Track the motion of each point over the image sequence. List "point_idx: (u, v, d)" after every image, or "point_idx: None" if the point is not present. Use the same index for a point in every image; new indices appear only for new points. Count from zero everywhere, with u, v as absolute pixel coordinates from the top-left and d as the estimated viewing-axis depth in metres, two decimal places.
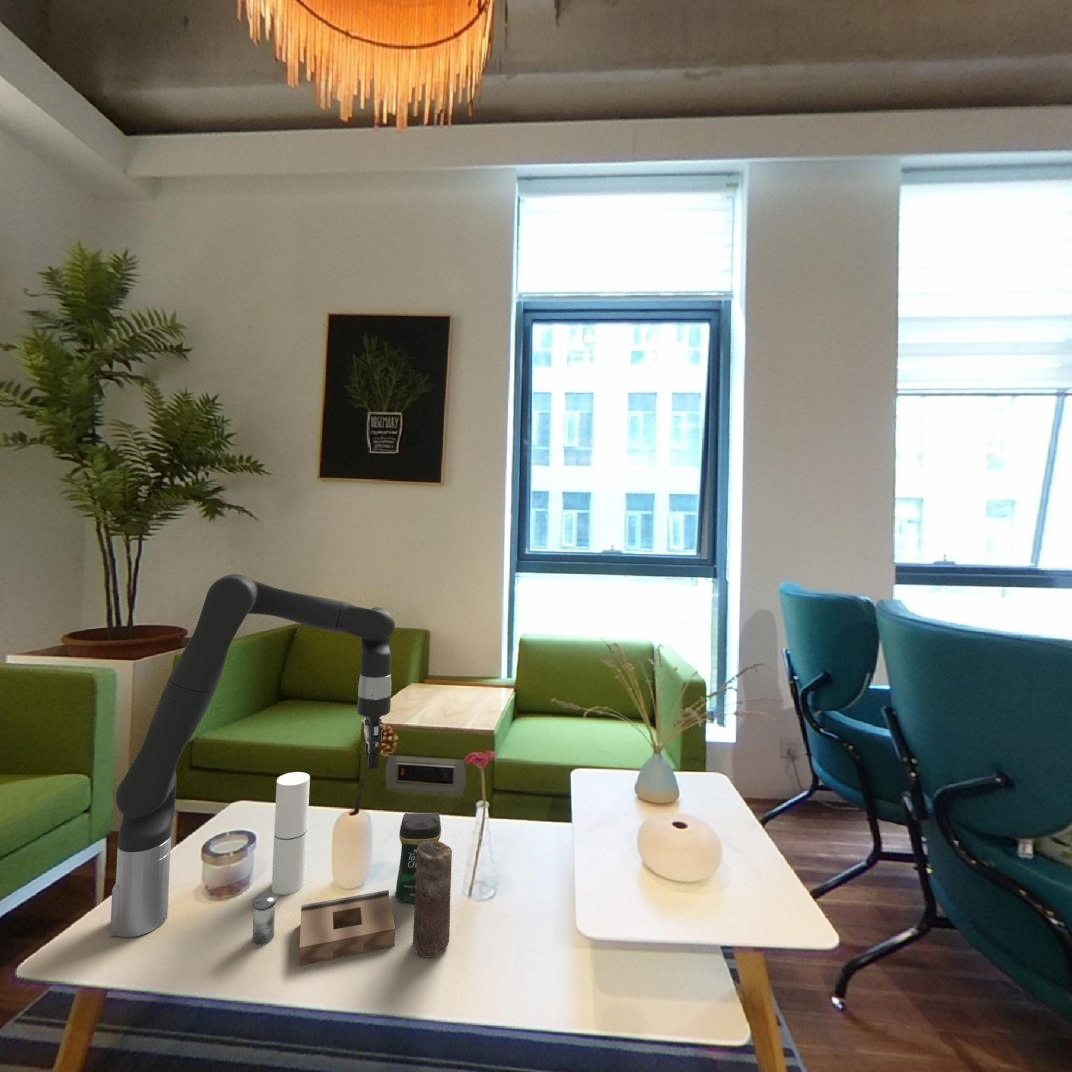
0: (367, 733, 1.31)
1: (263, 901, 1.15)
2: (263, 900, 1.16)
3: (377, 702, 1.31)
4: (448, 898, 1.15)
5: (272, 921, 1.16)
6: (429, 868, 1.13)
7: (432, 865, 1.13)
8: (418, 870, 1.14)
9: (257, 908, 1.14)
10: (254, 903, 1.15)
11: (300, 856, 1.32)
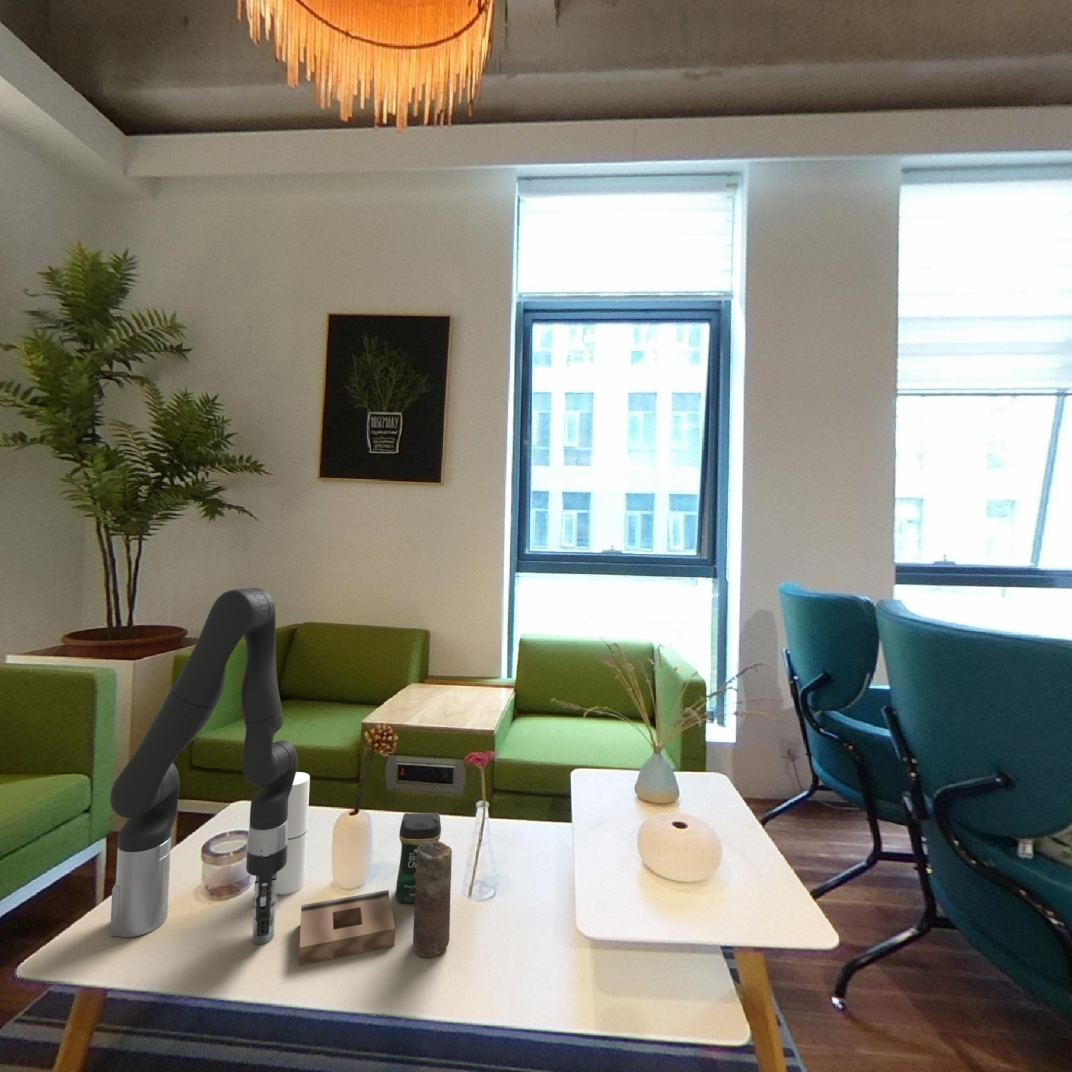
0: (256, 895, 1.13)
1: None
2: None
3: (267, 858, 1.13)
4: (448, 898, 1.15)
5: (272, 921, 1.16)
6: (429, 868, 1.13)
7: (432, 865, 1.13)
8: (418, 870, 1.14)
9: None
10: (254, 903, 1.15)
11: (300, 856, 1.32)
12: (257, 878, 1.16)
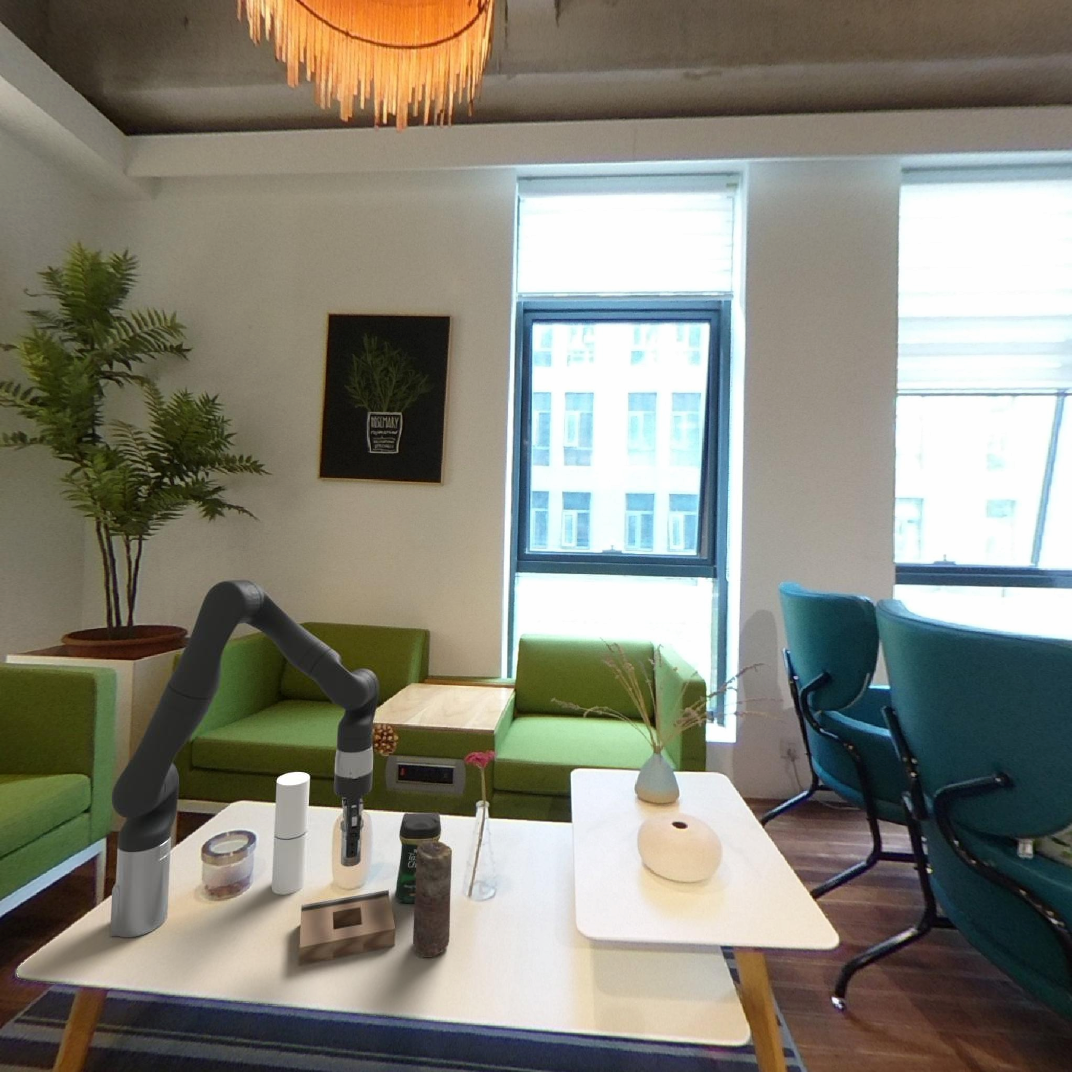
0: (345, 817, 1.15)
1: None
2: None
3: (356, 781, 1.15)
4: (448, 898, 1.15)
5: (360, 844, 1.18)
6: (429, 868, 1.13)
7: (432, 865, 1.13)
8: (418, 870, 1.14)
9: None
10: (343, 826, 1.16)
11: (300, 856, 1.32)
12: (344, 802, 1.18)
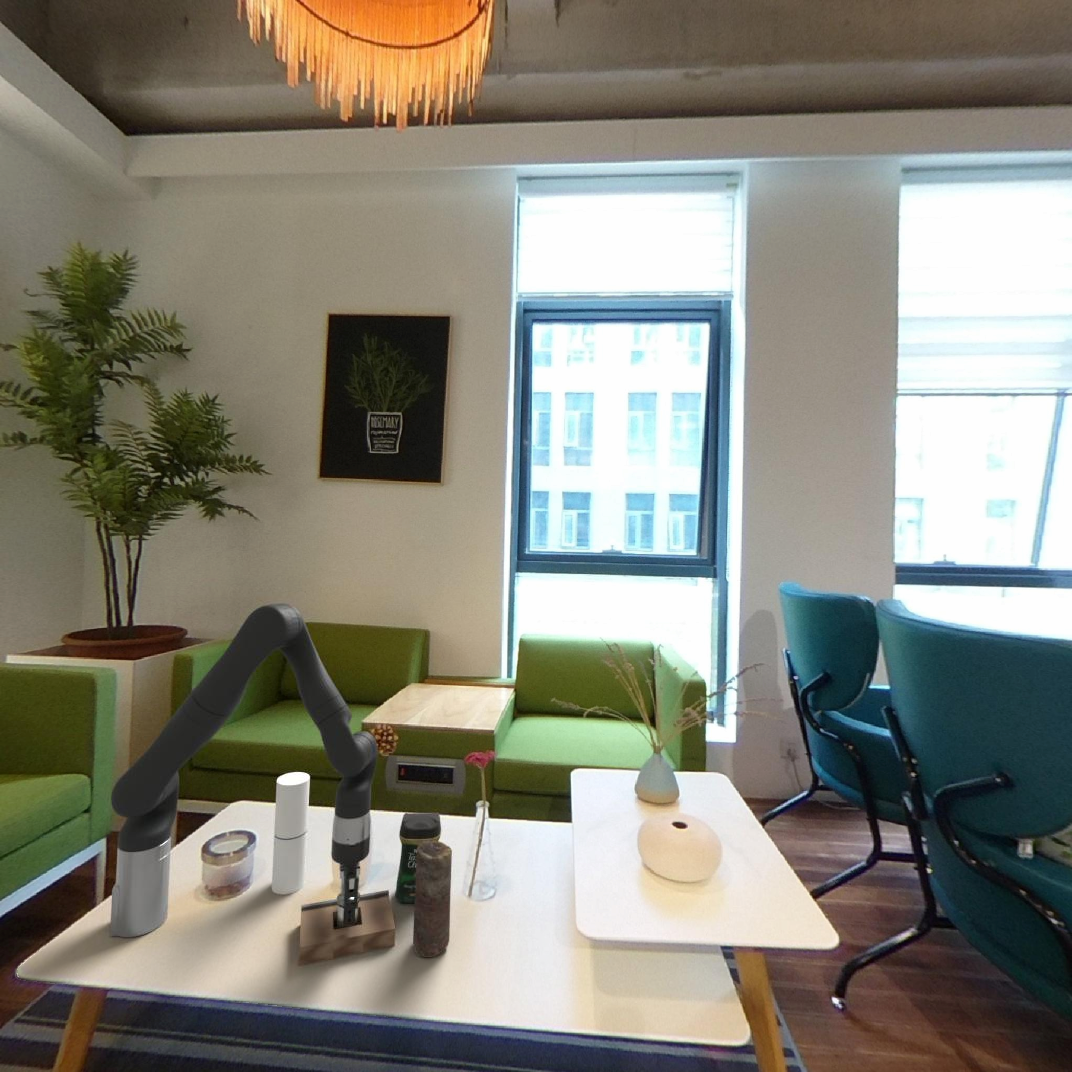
0: (342, 882, 1.15)
1: (347, 899, 1.17)
2: None
3: (353, 847, 1.15)
4: (448, 898, 1.15)
5: (356, 918, 1.18)
6: (429, 868, 1.13)
7: (432, 865, 1.13)
8: (418, 870, 1.14)
9: (342, 906, 1.16)
10: (339, 901, 1.16)
11: (300, 856, 1.32)
12: (341, 867, 1.18)
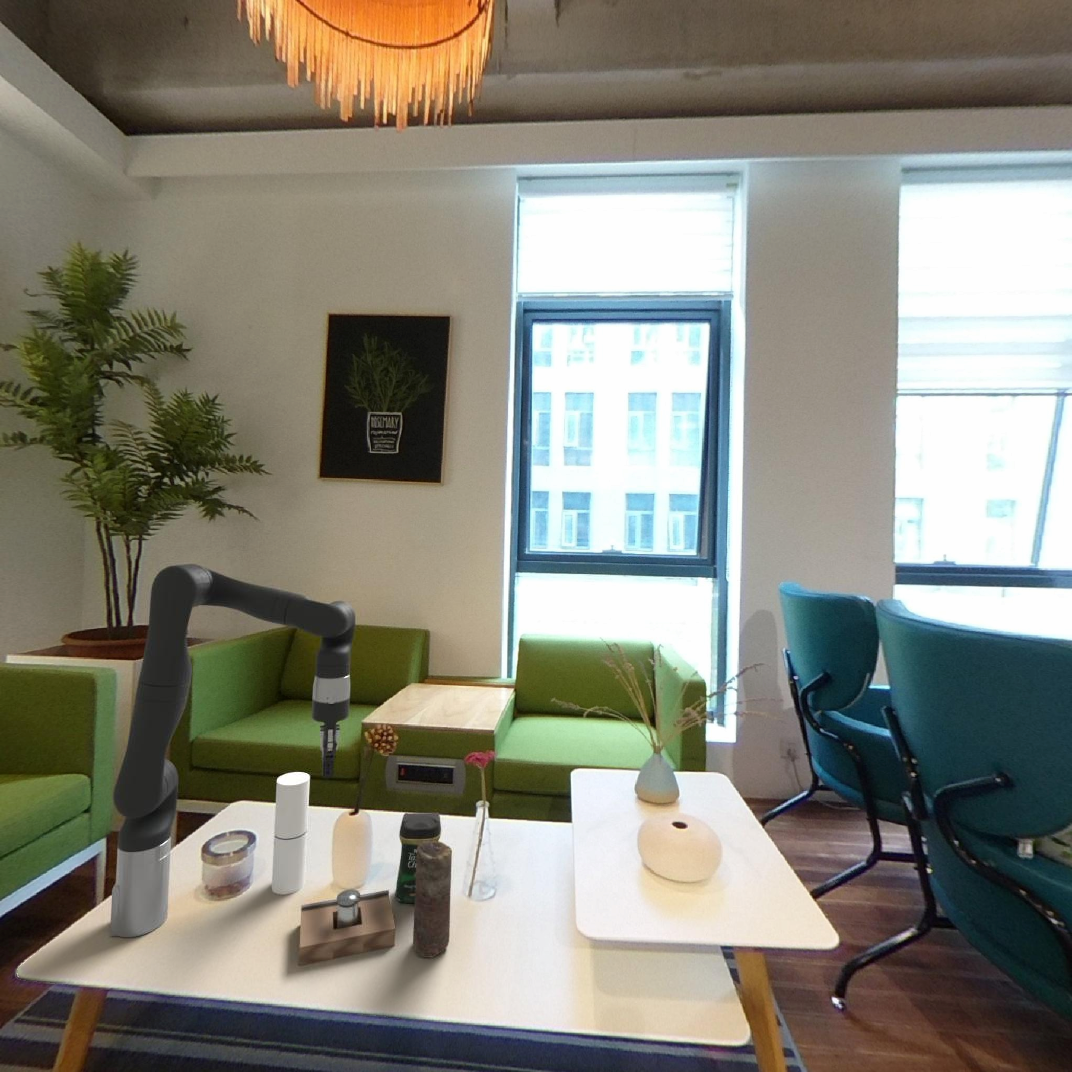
0: (322, 742, 1.20)
1: (347, 898, 1.17)
2: (347, 897, 1.18)
3: (333, 706, 1.18)
4: (448, 898, 1.15)
5: (356, 918, 1.18)
6: (429, 868, 1.13)
7: (432, 865, 1.13)
8: (418, 870, 1.14)
9: (342, 905, 1.16)
10: (339, 900, 1.17)
11: (300, 856, 1.32)
12: (321, 729, 1.22)
